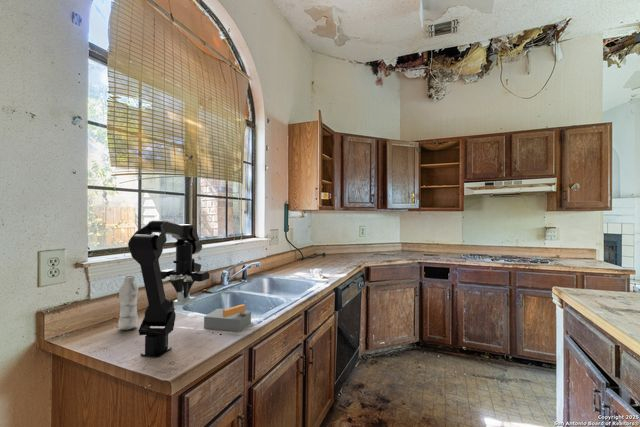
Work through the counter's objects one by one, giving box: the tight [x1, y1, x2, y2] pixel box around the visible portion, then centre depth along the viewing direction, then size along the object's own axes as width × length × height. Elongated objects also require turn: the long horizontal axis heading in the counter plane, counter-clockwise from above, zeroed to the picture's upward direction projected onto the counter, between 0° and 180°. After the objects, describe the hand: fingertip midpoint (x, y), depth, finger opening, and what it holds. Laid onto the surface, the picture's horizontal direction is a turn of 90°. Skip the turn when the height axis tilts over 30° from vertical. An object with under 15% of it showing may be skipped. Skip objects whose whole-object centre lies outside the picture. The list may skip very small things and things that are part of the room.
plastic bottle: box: [117, 275, 140, 331], centre depth 112 cm, size 6×7×20 cm
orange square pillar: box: [223, 304, 246, 318], centre depth 114 cm, size 2×9×4 cm, turn 143°
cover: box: [172, 291, 197, 306], centre depth 113 cm, size 7×5×4 cm
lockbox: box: [203, 308, 252, 333], centre depth 118 cm, size 10×15×5 cm, turn 79°
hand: (183, 297), depth 113 cm, fingers closed on cover, 2 cm apart
